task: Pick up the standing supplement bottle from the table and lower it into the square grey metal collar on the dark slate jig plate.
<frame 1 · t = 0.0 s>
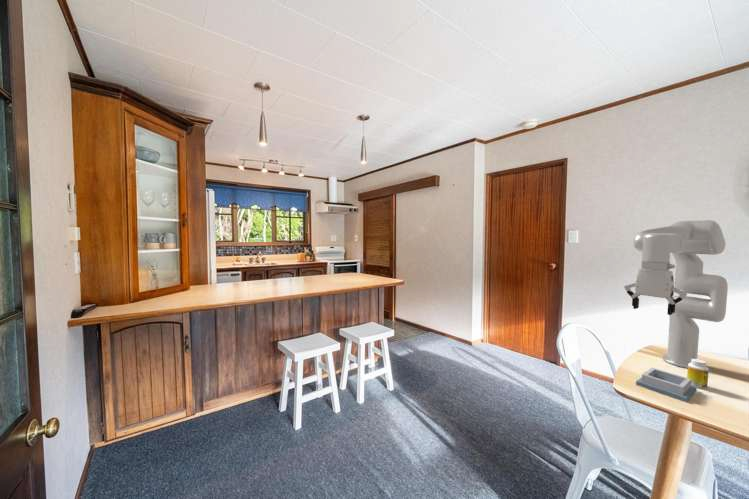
hand: (652, 311, 110), 31 cm above the table, tool pointing down, fingers open, 9 cm apart
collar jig: (665, 387, 114), on the table
supplement bottle: (696, 386, 116), on the table
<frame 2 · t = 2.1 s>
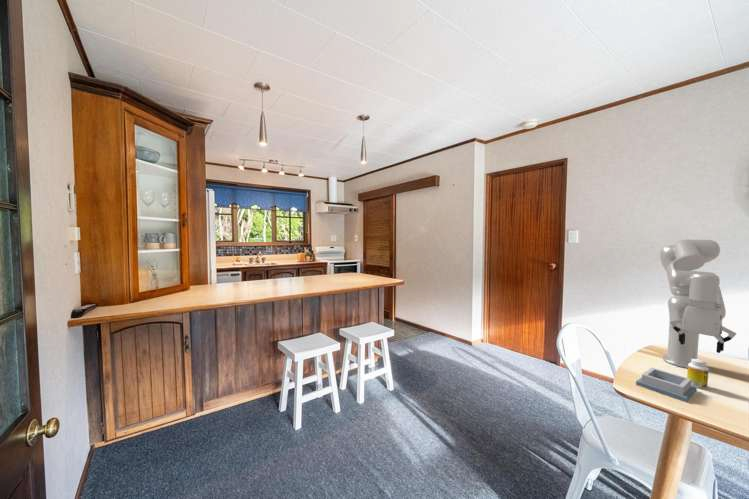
hand: (699, 347, 114), 16 cm above the table, tool pointing down, fingers open, 9 cm apart
nothing on the table moved.
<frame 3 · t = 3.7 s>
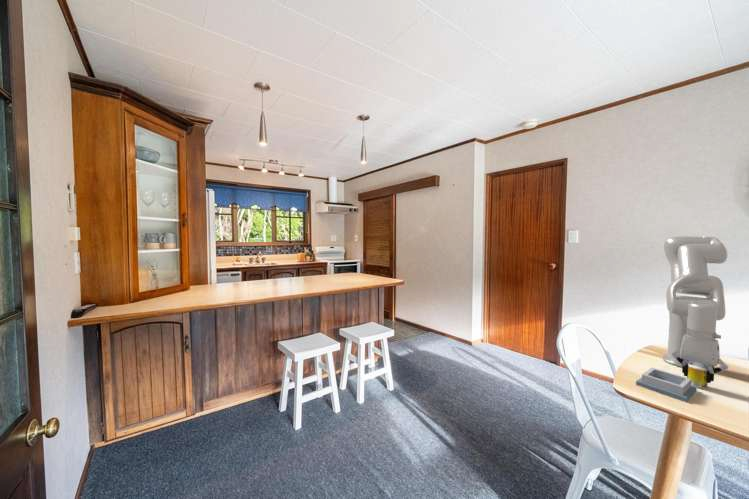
hand: (697, 378, 116), 3 cm above the table, tool pointing down, fingers closed on supplement bottle, 5 cm apart
supplement bottle: (696, 386, 116), on the table, touching gripper
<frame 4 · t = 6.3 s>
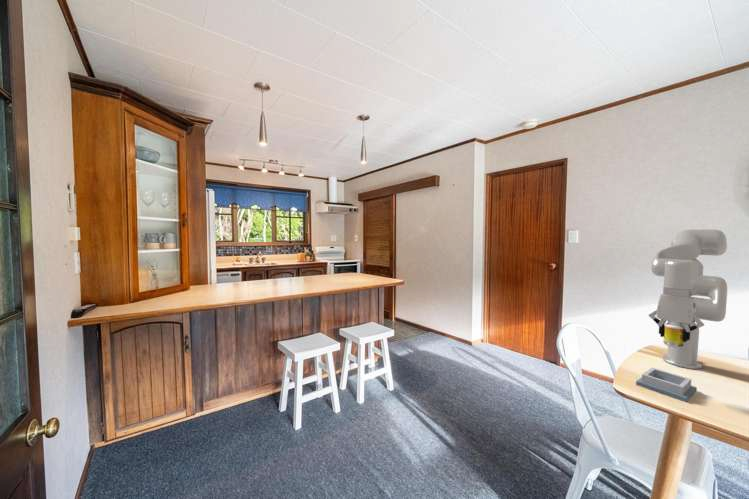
hand: (673, 338, 113), 20 cm above the table, tool pointing down, fingers closed on supplement bottle, 5 cm apart
supplement bottle: (673, 346, 113), point 17 cm above the table, touching gripper
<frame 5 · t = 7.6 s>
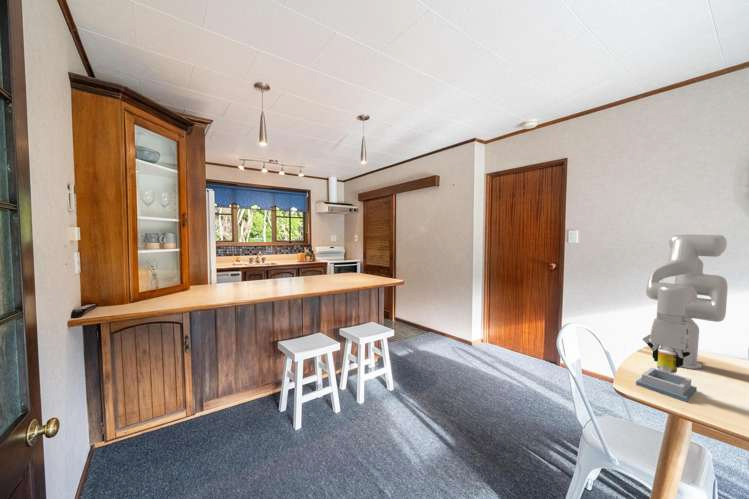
hand: (667, 363, 113), 10 cm above the table, tool pointing down, fingers closed on supplement bottle, 5 cm apart
supplement bottle: (666, 371, 114), point 7 cm above the table, touching gripper
when the fingers open (6 cm above the table, at t = 8.8 s): supplement bottle drops 2 cm, resting on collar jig.
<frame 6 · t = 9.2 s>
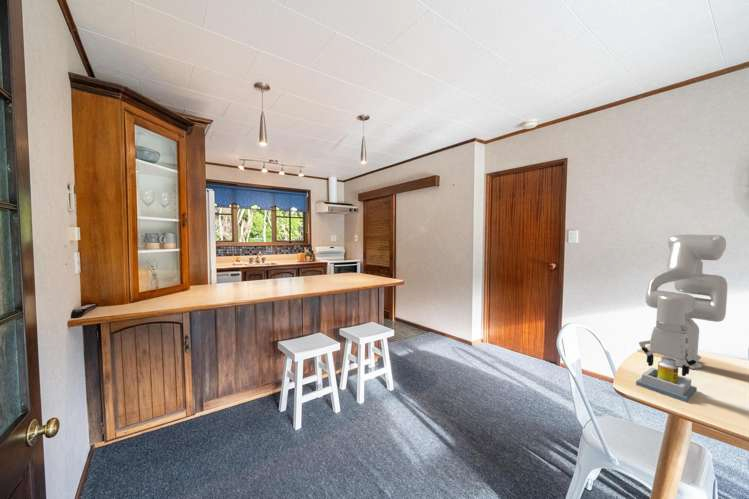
hand: (666, 369, 114), 7 cm above the table, tool pointing down, fingers open, 9 cm apart
supplement bottle: (666, 384, 114), point 1 cm above the table, touching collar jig
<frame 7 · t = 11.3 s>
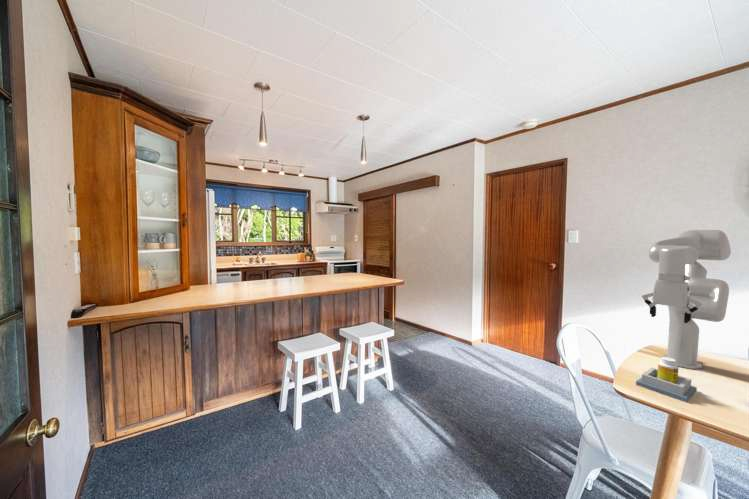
hand: (669, 319, 119), 26 cm above the table, tool pointing down, fingers open, 9 cm apart
nothing on the table moved.
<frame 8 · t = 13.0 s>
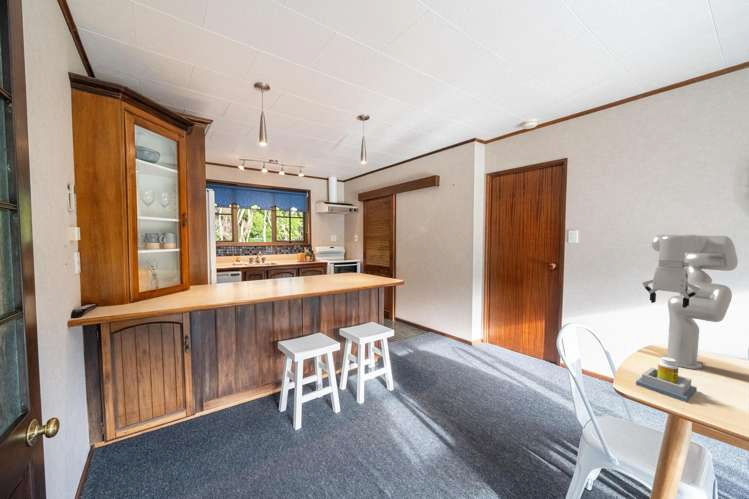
hand: (668, 304, 123), 30 cm above the table, tool pointing down, fingers open, 9 cm apart
nothing on the table moved.
at the end: supplement bottle 0.3 cm off-centre on the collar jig, point 1.3 cm above the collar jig's base; supplement bottle tilted 0°; the gripper is holding nothing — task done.
